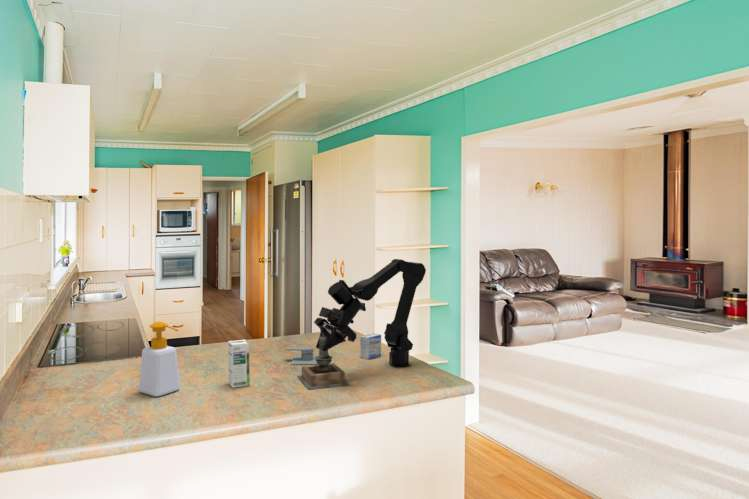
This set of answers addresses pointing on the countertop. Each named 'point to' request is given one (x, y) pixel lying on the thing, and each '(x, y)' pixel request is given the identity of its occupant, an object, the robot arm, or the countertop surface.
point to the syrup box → (238, 363)
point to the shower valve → (303, 356)
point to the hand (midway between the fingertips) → (320, 349)
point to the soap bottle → (159, 365)
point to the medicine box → (370, 346)
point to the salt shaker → (323, 355)
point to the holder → (322, 377)
